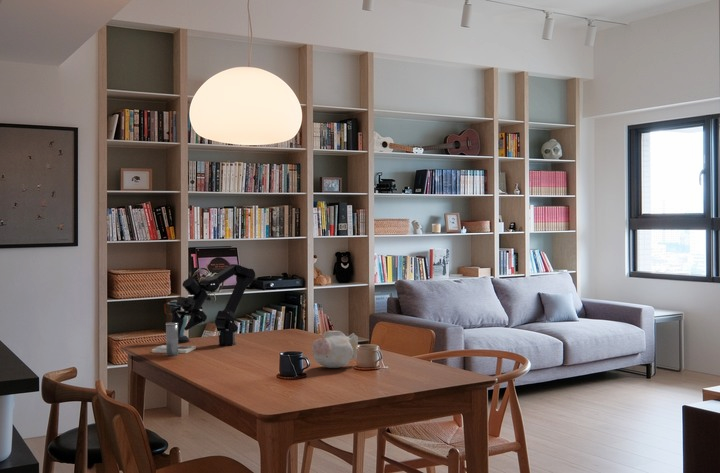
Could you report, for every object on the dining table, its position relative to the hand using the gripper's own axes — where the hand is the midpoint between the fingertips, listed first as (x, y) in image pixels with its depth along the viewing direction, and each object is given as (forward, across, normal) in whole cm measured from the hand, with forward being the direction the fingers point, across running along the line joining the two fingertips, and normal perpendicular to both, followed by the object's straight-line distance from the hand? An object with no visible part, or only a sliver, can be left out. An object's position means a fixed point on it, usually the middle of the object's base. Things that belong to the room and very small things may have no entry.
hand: (178, 329), depth 340 cm
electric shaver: (-9, -27, +24) cm, 37 cm away
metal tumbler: (+10, 0, +5) cm, 12 cm away
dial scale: (+4, -9, +11) cm, 15 cm away
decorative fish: (0, +78, +16) cm, 80 cm away
